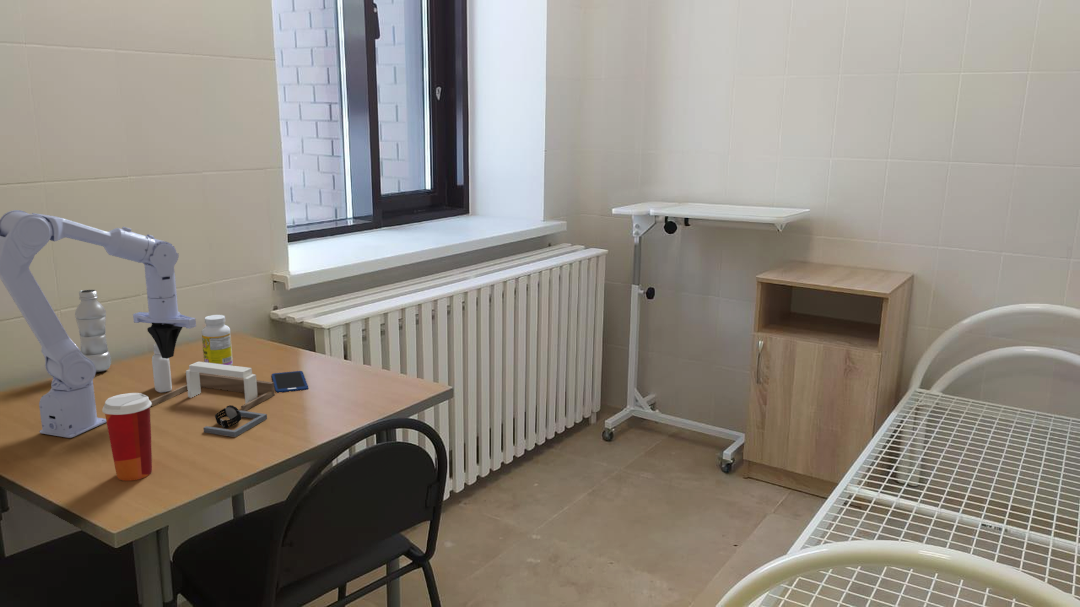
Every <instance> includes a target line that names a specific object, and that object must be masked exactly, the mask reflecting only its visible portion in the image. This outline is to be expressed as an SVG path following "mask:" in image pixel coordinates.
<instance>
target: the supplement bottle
mask: <svg viewBox="0 0 1080 607" xmlns="http://www.w3.org/2000/svg"><path fill="white" fill-rule="evenodd" d="M204 323H205V327H203V328H202V330H201V342H202V351H203V352H202V353H203V362H207V363H215V364H223V365H231V366H233V363H234V362H233V360H234V359H233V350H232V348H233V346H232V336H231V328H230V327H229V326H228V325H226V324H225V323H226V315H223V314H212V315H207V316H205V317H204Z"/></svg>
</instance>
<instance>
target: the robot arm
mask: <svg viewBox="0 0 1080 607" xmlns="http://www.w3.org/2000/svg"><path fill="white" fill-rule="evenodd" d="M132 230H133V229H132V228H131V227H127V226H122V228H120V227H115V228H113V229H110V230H108V231H105V230H103V229H99V228H96V227H93V226H89V225H86V224H84V223H80V222H77V221H74V220H70V219H67V218H63V217H59V216H55V215H48V214H43V213H35V212H31V213H28V212H26V211H24V210H18V209H13V210H10V211H7V212H6V213H4V214H2V216H1V217H0V280H1V282H2V284H3V286H4V287H5V289H6V291H7V292H8V293H9V296H10V297H11V298H12V301H13V302H14V303H15V305H16V307H17V309H18V310H19V312H20V313H21V315H22V316H23V318H24V320H25V321H26V324H27V325H28V326H29V328H30V330H31V331H32V333H33V335H34V336H35V338H36V340H37V341H38V343H39V344H40V347H41V350H40V352H41V353H42V355H43V357H44V362H45V363H44V367H45V370H46V372H47V374H49V376H51V377H52V380H51V385H50V386H51V388H50V390H49V391H48V392H47V393H46V394H45V393H44V394H43V395H42V396H41V397H40V400H39V403H38V405H39V406H38V407H39V413H40V414H39V416H40V422H41V428H42V429H41V430H39V434H45V435H48V436H55V437H56V436H57V437H61V438H62V437H63V438H67V439H71V438H74V437H76V436H79V435H81V434H83V433H85V432H87V431H90V430H92V429H94V428H96V427H98V426H101V425H103V424H105V423H106V424H107V422H106V418H103V417H98V415H97V414H98V413H97V404H96V396H95V388H94V379H95V376H96V374H97V372H96V367H95V364H94V363H93V361H92V360H90V359H89V358H87V357H85V356H84V355H83V354H82V353H81V348H80V347H78V346H77V344H76V343H75V342H74V341H73V340H72V338H70V336H69V335H68V333H67V330H65V328H64V325H62V323H61V320H60V319H59V317H58V316H57V314H56V312H55V311H54V309H53V308H52V305H51V304H50V302H49V301H48V299H47V297H46V295H45V293H44V292H43V290H42V289H41V287H40V284H38V281H37V280H36V278H35V276H34V275H33V273H32V271H31V270H30V266H31V264H32V262H33V260H34V259H35V256H36V255H37V254H39V252H40V251H41V250H42V249H43V248H44V247H45V246H46V245H47V244H48V243H49V242H50V241H52V242H57V241H58V242H59V241H60V240H62V239H65V238H67V239H71V240H75V241H80V242H84V243H88V244H91V245H96V246H101V247H103V248H104V250H105V251H106V253H107V254H108V256H112V257H116V258H119V259H123V260H128V261H131V262H135V263H138V264H140V263H141V264H143V265H144V266H143V267H144V275H145V276H144V277H145V285H146V286H145V287H146V296H147V308H148V311H146V312H142V311H139V312H135V313H133V314H132V318H133V323H136V324H137V323H138V324H139V323H145V324H151V325H150V326H148V327H147V332H148V334H150V336H151V337H152V339H153V341H154V343H155V344H157V346H158V349H159V351H160V354H161V356H162V358H166V359H168V358H169V359H170V358H173V357H174V356H175V355H174V354H175V349H176V344H177V340H178V337H179V336H180V333H181V331H182V330H183V328H186V329H193V328H196V327H197V323H196V320H197V319H196V317H191V316H187V315H184V314H182V313H181V312H180V311H179V306H178V293H177V282H176V281H177V280H176V274H175V273H176V272H175V266H176V264H177V263H178V260H179V256H180V254H179V253H178V252H177V250H176V248H175V246H174V245H173V244H172V243H171V242H168V241H165V240H163V239H158V238H156V237H155V236H154V235H152V234H146V235H144V234H140V233H137V232H133V231H132Z"/></svg>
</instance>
